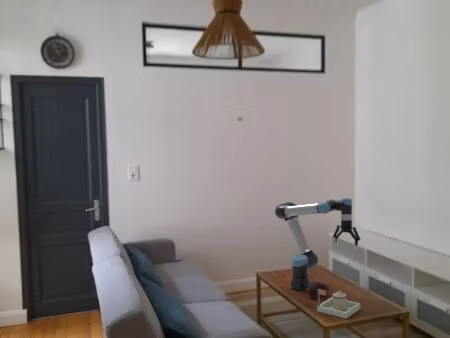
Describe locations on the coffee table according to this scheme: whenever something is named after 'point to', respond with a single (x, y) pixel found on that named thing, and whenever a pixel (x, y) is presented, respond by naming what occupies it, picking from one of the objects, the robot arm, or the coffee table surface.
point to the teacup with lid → (339, 301)
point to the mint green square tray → (328, 309)
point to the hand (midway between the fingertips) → (346, 248)
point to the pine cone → (316, 289)
